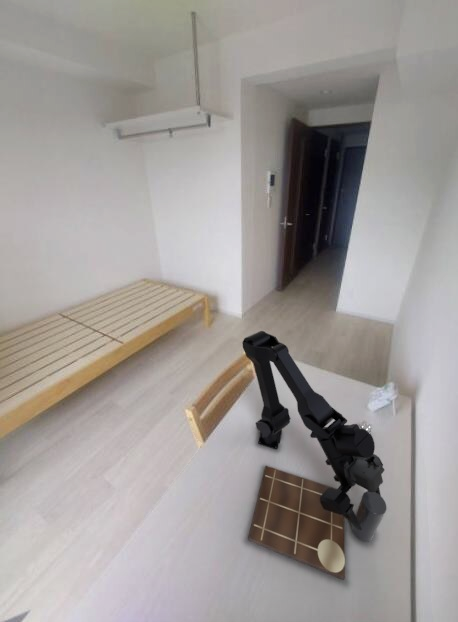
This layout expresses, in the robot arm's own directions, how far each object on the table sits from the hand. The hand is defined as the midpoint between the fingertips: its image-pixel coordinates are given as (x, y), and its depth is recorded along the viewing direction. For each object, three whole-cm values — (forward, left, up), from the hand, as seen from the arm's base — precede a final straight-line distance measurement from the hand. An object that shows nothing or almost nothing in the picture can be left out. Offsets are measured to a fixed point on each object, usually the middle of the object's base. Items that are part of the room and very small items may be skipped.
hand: (370, 515), depth 64 cm
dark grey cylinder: (0, 0, -8) cm, 8 cm away
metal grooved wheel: (+2, +30, -8) cm, 31 cm away
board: (-16, -2, -8) cm, 18 cm away
